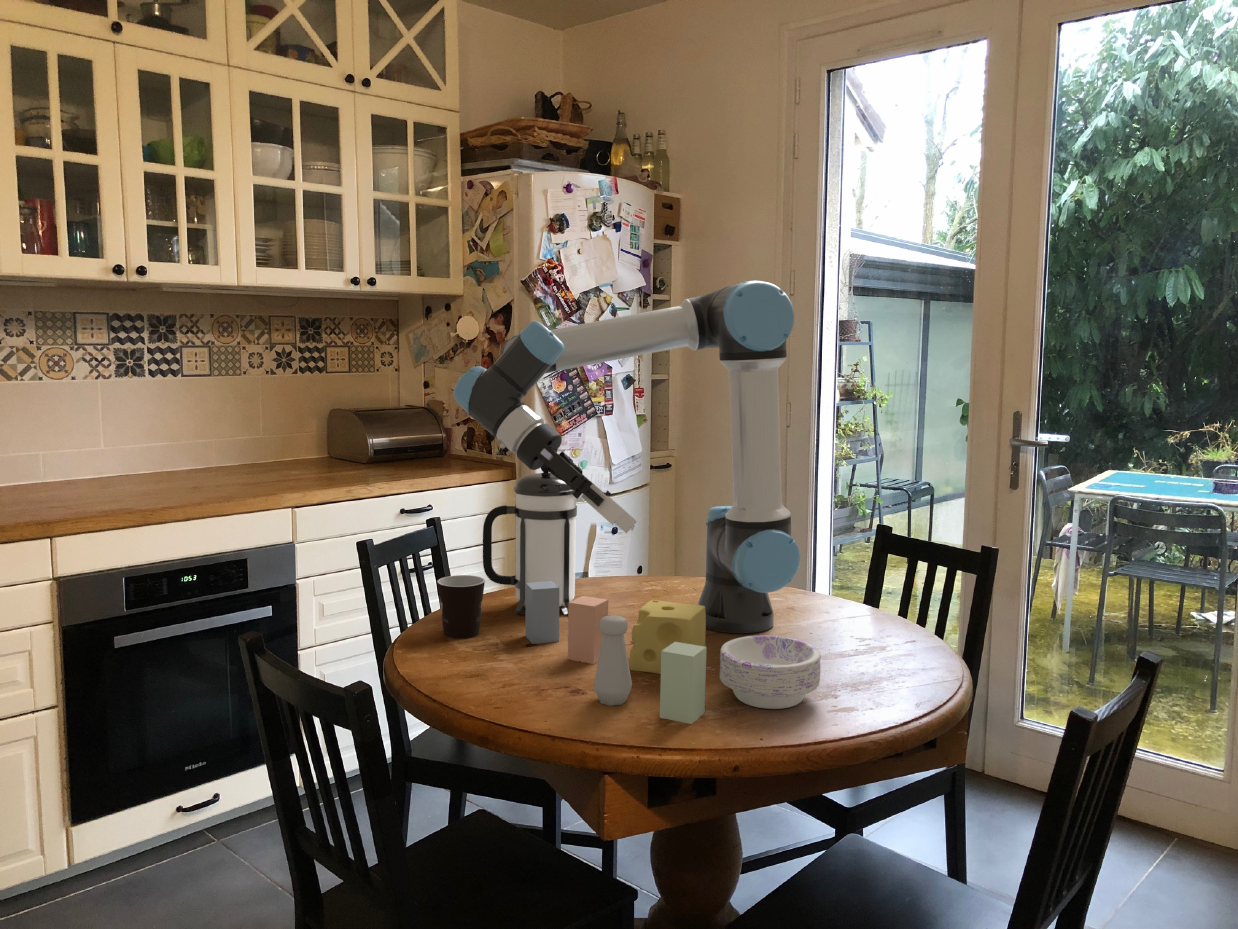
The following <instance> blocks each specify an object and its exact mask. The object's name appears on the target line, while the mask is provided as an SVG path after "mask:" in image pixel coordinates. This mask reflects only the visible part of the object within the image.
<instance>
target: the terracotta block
mask: <svg viewBox="0 0 1238 929" xmlns="http://www.w3.org/2000/svg"><path fill="white" fill-rule="evenodd" d="M605 616H609V599H606V598H599V597H595V596H594V597H593V596H587V595H581V596H580V597H579V596H578V597H577V598H575V599H573V601H571V602H569V608H568V615H567V618H568V622H567V623H568V625H567V626H568V627H567V630H568V632H567V634H568V635H567V660H569V659H571V660H570V661H575V662H579V661H581V663H585V662H587V663H586V664H591V665H595V664H596V663H598V661H599V655H600V649H601V644H602V638H603V634H602V633H601V632H600V631H599V623H600V620H601V619H602V618H603V617H605Z"/></svg>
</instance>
